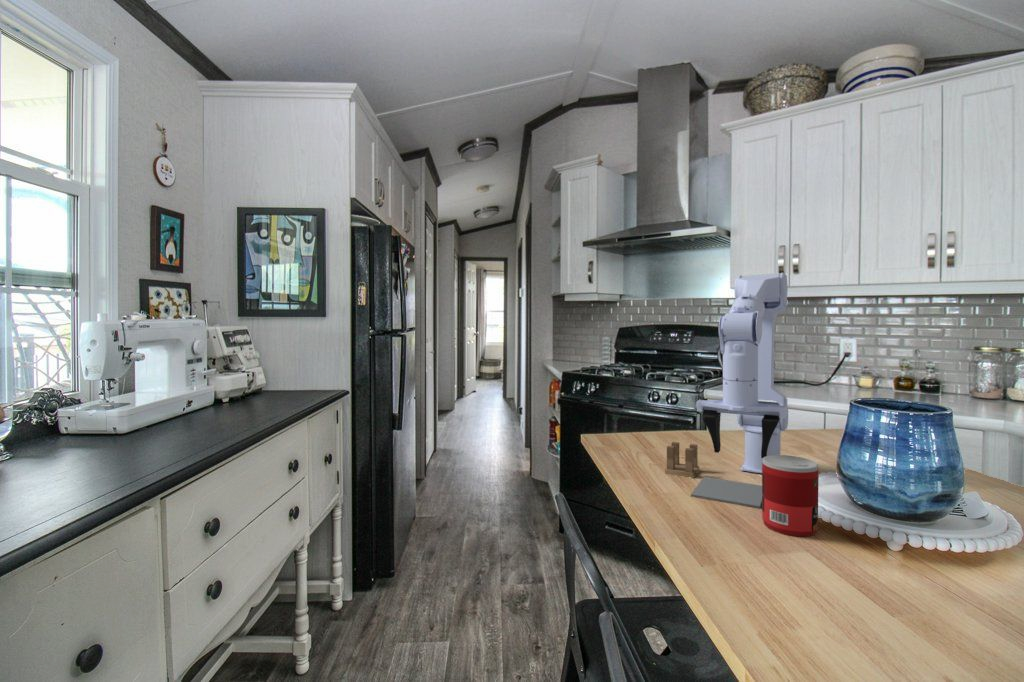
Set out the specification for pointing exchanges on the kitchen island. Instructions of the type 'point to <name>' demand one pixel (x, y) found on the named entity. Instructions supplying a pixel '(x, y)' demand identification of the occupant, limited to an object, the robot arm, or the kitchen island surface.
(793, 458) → the canned food
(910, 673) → the kitchen island surface
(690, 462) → the stool
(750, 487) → the mat
